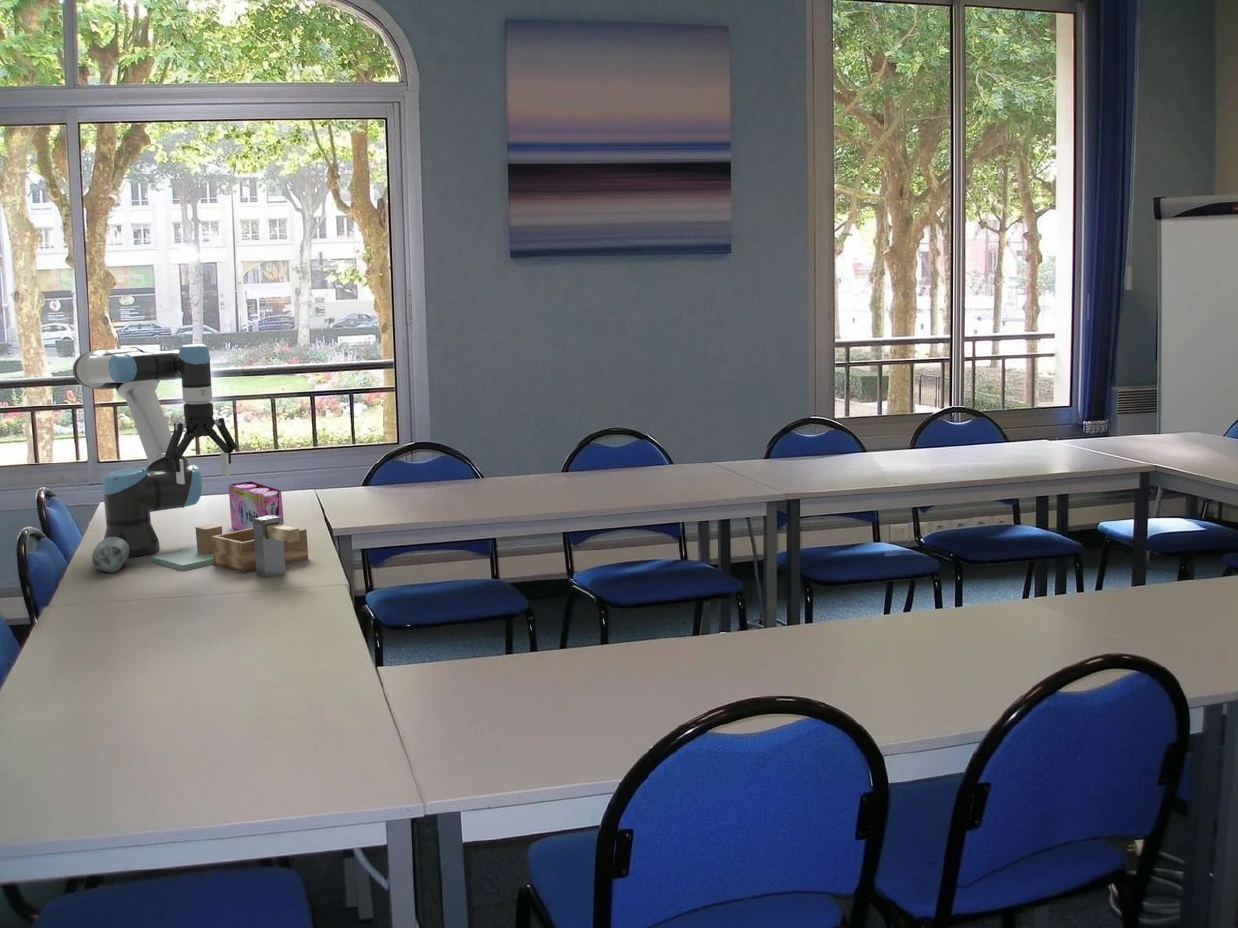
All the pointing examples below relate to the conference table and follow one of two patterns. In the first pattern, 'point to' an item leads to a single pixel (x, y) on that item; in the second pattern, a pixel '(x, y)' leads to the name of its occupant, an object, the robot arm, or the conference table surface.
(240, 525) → the gum box
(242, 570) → the open wooden box
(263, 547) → the keeper
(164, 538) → the conference table surface
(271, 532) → the wooden bar
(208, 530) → the lid
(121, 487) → the robot arm
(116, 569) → the spool
